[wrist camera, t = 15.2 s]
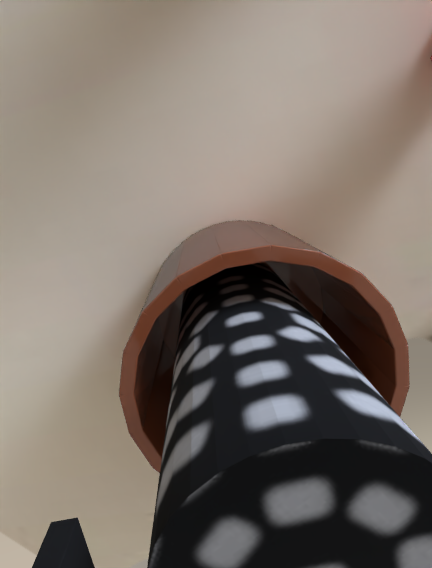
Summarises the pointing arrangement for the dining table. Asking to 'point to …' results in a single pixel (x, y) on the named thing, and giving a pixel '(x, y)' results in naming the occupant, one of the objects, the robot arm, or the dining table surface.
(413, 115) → the dining table surface
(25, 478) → the dining table surface
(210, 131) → the dining table surface
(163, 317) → the terracotta coffee mug
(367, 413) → the white-spotted black cylinder
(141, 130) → the dining table surface
